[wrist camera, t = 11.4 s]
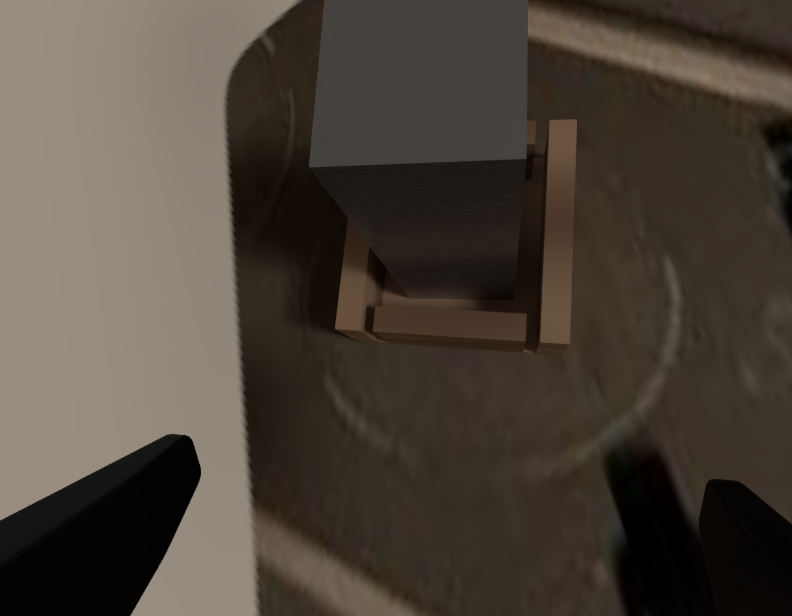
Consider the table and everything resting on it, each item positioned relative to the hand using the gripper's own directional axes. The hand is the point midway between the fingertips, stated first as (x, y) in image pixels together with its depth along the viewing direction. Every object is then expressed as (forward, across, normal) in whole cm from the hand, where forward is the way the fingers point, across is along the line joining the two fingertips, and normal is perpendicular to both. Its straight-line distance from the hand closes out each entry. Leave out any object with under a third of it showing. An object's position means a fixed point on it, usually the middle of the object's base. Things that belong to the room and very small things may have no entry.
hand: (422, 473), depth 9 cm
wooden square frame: (+15, +1, +1) cm, 15 cm away
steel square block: (+15, +1, +1) cm, 15 cm away
